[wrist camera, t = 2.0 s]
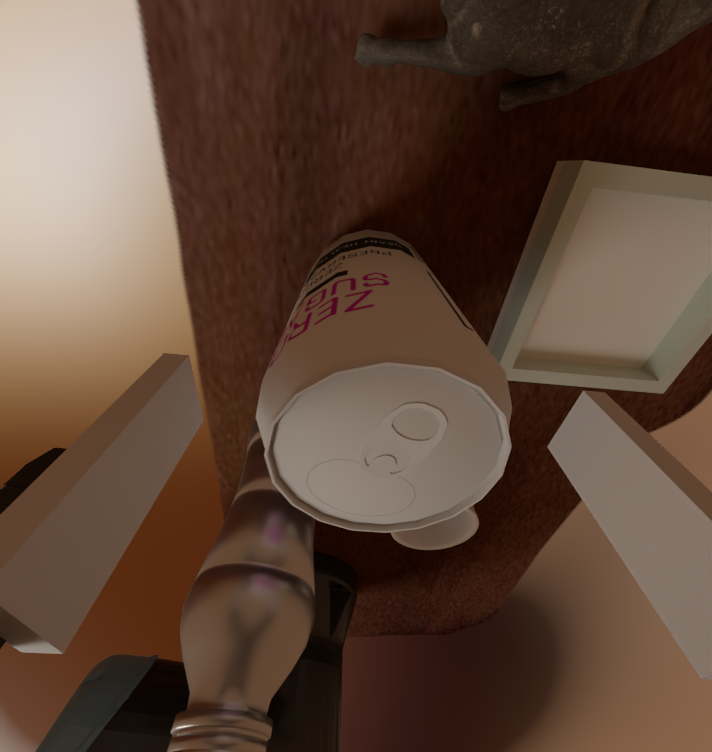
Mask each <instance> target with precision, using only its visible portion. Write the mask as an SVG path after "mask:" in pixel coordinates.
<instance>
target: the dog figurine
mask: <svg viewBox="0 0 712 752" xmlns="http://www.w3.org/2000/svg"><path fill="white" fill-rule="evenodd" d="M440 7H441V10H442V13H443V14H444V16H445V17H446V19H447V26H448V32H447V34H446V35H444V36H442V37H437V38H433V39H422V40H399V39H395V38H391V37H383V38H377V37H376V36H374V35H372V34H370V33H364V34H362V35H361V36H360V37H359V38H358V43H357V49H356V53H355V57H354V59H355V60H356V61H357V62H359V63H360V64H361V65H363V66H372V65H374V64H376V63H380V64H382V65H383V66H391V65H393V64H397V63H406V64H410V65H417V66H420V67H427V68H434V69H439V70H442V71H446V72H449V73H452V74H458V75H469V76H485V75H487V74H489V73H490V72H491V71H493V70H495V69H498V68H505V69H507V70H510V71H512V72H514V73H516V74H520V75H525V76H545V75H549V74H553V73H556V72H558V71H561V72H558V73H556V74H554V75H551V76H548V77H545V78H541V79H537V80H534V81H530V82H527V83H525V84H512V85H508V86H505V87H503V88H502V89H501V90H500V94H499V101H498V105H499V109H500V110H501V111H504V112H508V111H511V110H513V109H514V108H516V107H517V106H519V105H522V104H534V103H539V102H542V101H545V100H549V99H553V98H558V97H562V96H566V95H569V94H571V93H573V92H575V91H577V90H578V89H580V88H581V87H582V86H583V85H585V84H588V83H590V82H593V81H595V80H598V79H600V78H603V77H606V76H609V75H612V74H615V73H618V72H624V71H628V70H631V69H633V68H636V67H638V66H640V65H641V64H643V63H644V62H646V61H648V60H651V59H653V58H655V57H657V56H658V55H660V54H662V53H664V52H665V51H667V50H668V49H669V48H671V47H672V46H674V45H675V44H677V43H678V42H679V41H680V40H682V39H683V38H684V37H685V36H686V35H688V34H690V33H691V32H693V31H695V30H696V29H697V28H699V27H702V26H704V25H707V24H709V23H711V22H712V0H440ZM562 70H563V71H562Z"/></svg>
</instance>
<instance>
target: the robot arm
mask: <svg viewBox="0 0 712 752" xmlns="http://www.w3.org/2000/svg"><path fill="white" fill-rule="evenodd" d="M203 420H204V419H203V415H202V410H201V406H200V402H199V398H198V393H197V389H196V384H195V380H194V376H193V371H192V367H191V363H190V359H189V356H188V355H178V354H167V353H164V354H163V355H162V356H161V357H160V358H159V359H158V360H157V361H156V362H155V363H154V364H153V365H152V366H151V367H150V368H149V369H148V370H147V371H146V372H145V373H144V374H143V375H142V376H141V377H140V378H139V379H138V380H136V381H135V382H134V383H133V384H132V385H131V386H130V387H129V388H128V390H126V392H124V393H123V394H122V395H121V396H120V397H119V398H118V399H117V400H116V401H115V402H114V403H113V404H112V405H111V406H110V407H109V408H108V409H107V410H106V411H105V412H104V413H103V414H102V415H101V416H100V417H99V418H98V419H97V420H96V421H95V422H94V423H93V424H92V425H91V426H90V427H89V428H88V429H87V430H86V431H85V432H84V433H83V434H82V435H81V436H80V437H79V438H78V439H77V440H76V441H75V442H74V443H73V444H72V445H71V446H70V447H68V448H67V449H63V448H53V449H52V450H50V451H48V452H46V453H45V454H43V455H41V456H40V457H38V458H36V459H34V460H33V461H31V462H29V463H28V464H26V465H25V466H24V467H23V468H22V469H21V470H20V471H19V472H17V473H16V474H15V475H14V476H13V477H12V478H11V479H10V480H9V481H7V483H5V484H4V487H3V489H0V649H1V647H2V646H3V644H4V643H5V642H7V643H8V644H10V645H11V646H13V647H14V648H16V649H18V650H19V651H20V652H28V653H30V652H31V653H54V654H63V653H64V652H65V650H66V648H67V647H68V645H69V643H70V642H71V640H72V638H73V637H74V635H75V633H76V632H77V630H78V628H79V627H80V625H81V623H82V622H83V620H84V618H85V617H86V615H87V613H88V612H89V610H90V608H91V607H92V605H93V603H94V602H95V600H96V598H97V597H98V595H99V593H100V592H101V590H102V588H103V587H104V585H105V583H106V582H107V580H108V578H109V577H110V575H111V573H112V572H113V570H114V568H115V567H116V565H117V563H118V562H119V560H120V558H121V557H122V555H123V553H124V552H125V550H126V548H127V547H128V545H129V543H130V542H131V540H132V538H133V537H134V535H135V533H136V531H137V530H138V528H139V527H140V525H141V523H142V522H143V520H144V518H145V517H146V515H147V513H148V512H149V510H150V508H151V507H152V505H153V503H154V502H155V500H156V498H157V497H158V495H159V493H160V492H161V490H162V488H163V487H164V485H165V483H166V482H167V480H168V478H169V477H170V475H171V473H172V472H173V470H174V468H175V467H176V465H177V463H178V462H179V460H180V458H181V457H182V455H183V453H184V452H185V450H186V448H187V447H188V445H189V443H190V442H191V440H192V438H193V437H194V435H195V433H196V432H197V430H198V428H199V427H200V425H201V423H202V422H203ZM547 447H548V449H549V450H550V452H551V453H552V455H553V456H554V458H555V459H556V461H557V462H558V464H559V465H560V467H561V468H562V470H563V471H564V473H565V474H566V476H567V477H568V479H569V480H570V482H571V483H572V485H573V486H574V488H575V489H576V491H577V492H578V494H579V495H580V497H581V498H582V500H583V501H584V503H585V504H586V506H587V507H588V509H589V511H590V512H591V513H592V515H593V517H594V518H595V520H596V521H597V523H598V524H599V525H600V527H601V529H602V530H603V532H604V533H605V535H606V536H607V538H608V539H609V541H610V542H611V544H612V545H613V547H614V548H615V550H616V551H617V553H618V554H619V556H620V557H621V559H622V560H623V562H624V563H625V565H626V566H627V568H628V569H629V571H630V572H631V574H632V575H633V577H634V578H635V580H636V581H637V583H638V584H639V586H640V587H641V589H642V590H643V592H644V593H645V595H646V596H647V598H648V599H649V601H650V602H651V604H652V605H653V607H654V608H655V610H656V612H657V613H658V615H659V616H660V618H661V619H662V620H663V622H664V624H665V625H666V627H667V628H668V629H669V631H670V633H671V634H672V635H673V637H674V639H675V640H676V642H677V643H678V645H679V646H680V648H681V649H682V651H683V652H684V654H685V655H686V657H687V658H688V660H689V661H690V663H691V664H692V666H693V667H694V669H695V670H696V672H697V673H698V675H699V676H700V678H701V679H712V492H711V491H710V490H708V489H707V488H706V487H705V486H704V485H703V484H702V483H701V482H700V481H699V480H698V479H697V478H696V477H695V476H693V475H692V474H691V473H690V472H689V471H688V470H687V469H686V468H685V467H684V466H683V465H682V464H681V463H680V462H678V461H677V460H676V459H675V458H674V457H673V456H672V455H671V454H670V453H669V452H668V451H667V450H666V449H664V447H662V446H661V445H660V444H659V443H658V442H657V441H656V440H655V439H654V438H653V437H652V436H651V435H650V434H649V433H648V432H646V431H645V430H644V429H643V428H642V427H641V426H640V425H639V424H638V423H637V422H636V421H635V420H634V419H633V418H631V417H630V416H629V415H628V414H627V413H626V412H625V411H624V410H623V409H622V408H621V407H620V406H619V405H618V404H617V403H615V402H614V401H613V400H612V399H611V398H610V397H609V396H608V395H607V394H606V393H605V392H594V391H583V392H582V393H581V395H580V397H579V398H578V400H577V401H576V403H575V404H574V406H573V407H572V409H571V411H570V412H569V414H568V415H567V417H566V418H565V420H564V421H563V423H562V425H561V426H560V428H559V429H558V431H557V432H556V434H555V435H554V437H553V439H552V440H551V442H550V443H549V445H548V446H547ZM314 584H315V594H314V597H315V619H314V623H313V627H312V630H311V633H310V636H309V639H308V642H307V645H306V647H305V649H304V651H303V652H302V654H301V656H300V657H299V659H298V661H297V663H296V664H295V666H294V668H293V669H292V671H291V672H290V674H289V675H288V676H287V678H286V679H285V681H284V682H283V683H282V685H281V686H280V688H279V689H278V691H277V692H276V693H275V695H274V696H273V698H272V699H271V701H270V705H269V708H268V712H267V717H269V718H271V719H272V720H273V726H272V732H271V738H270V739H269V740H268V741H267V748H266V752H341V751H340V750H341V704H342V659H343V647H344V643H345V640H346V636H347V633H348V629H349V625H350V622H351V618H352V614H353V611H354V607H355V603H356V599H357V577H356V574H355V573H354V571H353V570H352V569H351V568H350V567H349V566H347V565H346V564H344V563H342V562H341V561H338V560H336V559H334V558H331V557H327V556H323V555H318V554H314ZM189 695H190V691H189V686H188V681H187V677H186V672H185V667H184V662H179V661H173V660H167V659H160V658H158V655H153V656H151V657H145V656H134V655H124V654H117V655H112V656H110V657H107V658H106V659H104V660H102V661H101V662H100V663H98V664H97V665H96V666H95V667H94V668H93V669H92V670H91V671H90V672H89V673H88V675H87V676H86V677H85V679H84V680H83V681H82V683H81V684H80V686H79V687H78V688H77V690H76V691H75V693H74V694H73V696H72V697H71V699H70V700H69V701H68V703H67V705H66V706H65V708H64V709H63V710H62V712H61V714H60V715H59V716H58V718H57V719H56V721H55V722H54V724H53V725H52V727H51V728H50V730H49V732H48V733H47V734H46V736H45V738H44V739H43V741H42V742H41V744H40V745H39V747H38V748H37V750H36V751H35V752H167V750H168V747H169V744H170V741H171V738H172V734H171V729H172V726H173V723H174V720H175V717H176V715H177V714H178V713H180V712H183V711H186V709H187V705H188V700H189Z"/></svg>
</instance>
